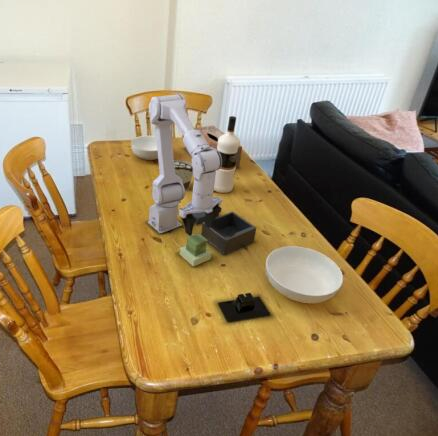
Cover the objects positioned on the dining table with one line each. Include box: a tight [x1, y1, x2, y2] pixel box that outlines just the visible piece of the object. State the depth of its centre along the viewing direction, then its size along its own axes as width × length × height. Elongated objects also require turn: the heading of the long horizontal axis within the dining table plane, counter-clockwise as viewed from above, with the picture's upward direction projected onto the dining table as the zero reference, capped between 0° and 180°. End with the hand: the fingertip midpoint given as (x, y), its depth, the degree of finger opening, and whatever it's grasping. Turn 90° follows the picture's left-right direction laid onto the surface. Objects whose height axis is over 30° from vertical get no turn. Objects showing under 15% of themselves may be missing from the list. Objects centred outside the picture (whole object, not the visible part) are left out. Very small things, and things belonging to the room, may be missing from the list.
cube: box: [185, 232, 208, 256], centre depth 126 cm, size 4×4×4 cm
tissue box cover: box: [184, 125, 243, 169], centre depth 187 cm, size 26×14×10 cm, turn 21°
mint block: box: [179, 245, 212, 268], centre depth 128 cm, size 7×7×2 cm
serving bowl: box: [265, 245, 344, 304], centre depth 117 cm, size 21×21×7 cm
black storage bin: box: [200, 211, 257, 256], centre depth 136 cm, size 13×11×6 cm
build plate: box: [217, 292, 271, 324], centre depth 110 cm, size 12×7×5 cm, turn 104°
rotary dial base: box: [192, 212, 220, 225], centre depth 149 cm, size 10×9×3 cm
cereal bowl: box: [130, 135, 158, 161], centre depth 186 cm, size 17×17×7 cm
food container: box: [174, 159, 193, 191], centre depth 164 cm, size 12×6×10 cm, turn 84°
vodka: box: [213, 115, 241, 194], centre depth 157 cm, size 9×9×30 cm
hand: (198, 230), depth 123 cm, fingers open, 7 cm apart
